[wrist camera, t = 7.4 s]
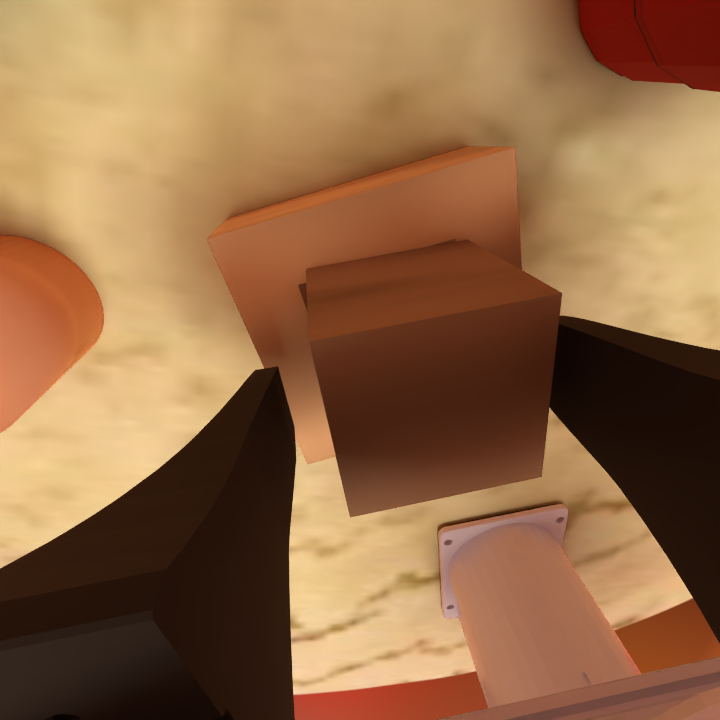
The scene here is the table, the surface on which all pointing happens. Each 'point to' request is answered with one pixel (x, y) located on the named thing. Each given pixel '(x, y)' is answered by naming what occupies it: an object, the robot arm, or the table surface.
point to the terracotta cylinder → (41, 322)
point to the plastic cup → (656, 39)
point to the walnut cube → (432, 372)
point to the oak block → (356, 253)
